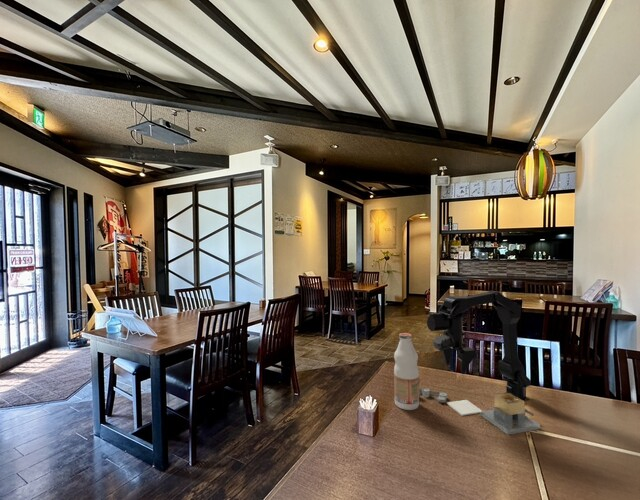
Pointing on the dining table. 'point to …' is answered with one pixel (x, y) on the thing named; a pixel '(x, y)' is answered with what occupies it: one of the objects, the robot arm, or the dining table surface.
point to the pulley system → (427, 393)
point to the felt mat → (464, 407)
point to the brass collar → (509, 404)
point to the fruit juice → (406, 374)
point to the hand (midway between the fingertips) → (455, 368)
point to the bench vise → (510, 421)
